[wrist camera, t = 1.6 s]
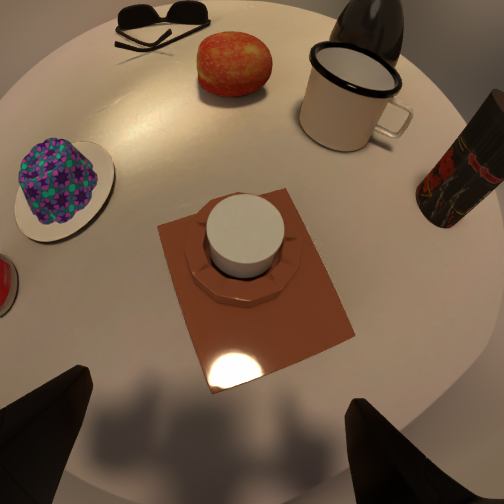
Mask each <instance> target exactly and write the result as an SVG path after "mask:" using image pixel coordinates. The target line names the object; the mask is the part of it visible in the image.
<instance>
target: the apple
mask: <svg viewBox="0 0 504 504" xmlns="http://www.w3.org/2000/svg"><path fill="white" fill-rule="evenodd" d="M272 64H273V63H272V57H271V54H270V51H269V49H268V48H267V46H266V45H265V44H264V43H263V42H262V41H261V40H259V39H258V38H256V37H254V36H252V35H249V34H246V33H242V32H222V33H217V34H214V35H211V36H209V37H207V38H206V39H204V40H203V41H202V42H201V44H200V45H199V48H198V53H197V71H198V82H199V84H200V85H201V86H202V87H203V88H204V89H205V90H207V91H208V92H210V93H213V94H215V95H220V96H228V97H235V96H241V95H246V94H249V93H252V92H254V91H256V90H258V89H259V88H261V87H262V86H263V85H264V84H265V83H266V82H267V81H268V79H269V77H270V75H271V72H272Z"/></svg>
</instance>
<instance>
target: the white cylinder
mask: <svg viewBox="0 0 504 504" xmlns="http://www.w3.org/2000/svg"><path fill="white" fill-rule="evenodd" d="M206 230H207V239H208V247H209V253H210V256H211V258H212V260H213V262H214V264H215V265H216V266H217V267H218V268H219V269H220V270H221V271H223V272H224V273H226V274H228V275H230V276H233V277H237V278H251V277H255V276H258V275H260V274H262V273H264V272H265V271H266V270H268V269H269V268H270V267H271V265H272V264H273V263H274V261H275V259H276V257H277V254H278V251H279V249H280V246H281V244H282V241H283V238H284V231H285V229H284V222H283V219H282V216H281V215H280V213H279V211H278V210H277V209H276V207H275V206H274V205H272V204H271V203H270V202H269V201H267V200H265V199H263V198H261V197H259V196H255V195H250V194H239V195H234V196H230V197H228V198H226V199H224V200H222V201H221V202H219V203H218V204H217V205H216V206H215V207H214V208H213V210H212V211H211V213H210V215H209V217H208V220H207V226H206Z"/></svg>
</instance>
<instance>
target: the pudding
mask: <svg viewBox="0 0 504 504" xmlns="http://www.w3.org/2000/svg"><path fill="white" fill-rule="evenodd" d="M113 178H114V166H113V161H112V159H111V156H110V155H109V153H108V152H107V151H106V150H105V149H104V148H103V147H101V146H99V145H97V144H95V143H91V142H82V141H81V142H73V143H70V142H69V141H67V140H64V139H57V138H50V139H47V140H45V141H44V142H43V143H40V144H37V145H36V146H34V147H33V148H32V149H31V151H30V153H29V154H28V155H27V156H25V158H24V159H23V161H22V163H21V170H20V172H19V183H20V187H19V190H18V193H17V196H16V200H15V218H16V222H17V225H18V227H19V228H20V230H21V231H22V232H23V233H24V234H25V235H26V236H27V237H29V238H31V239H33V240H36V241H45V242H49V241H54V240H58V239H61V238H64V237H67V236H69V235H70V234H72V233H74V232H76V231H77V230H79V229H80V228H81V227H83V226H84V225H85V224H86V223H87V222H89V221H90V220H91V219H92V218H93V217H94V216H95V214H96V213H97V212H98V211H99V209H100V208H101V207H102V205H103V204H104V202H105V200H106V199H107V197H108V194H109V192H110V190H111V187H112V183H113Z"/></svg>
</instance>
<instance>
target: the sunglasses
mask: <svg viewBox="0 0 504 504" xmlns="http://www.w3.org/2000/svg"><path fill="white" fill-rule="evenodd" d="M161 22H170V23H179V24H193V25H198V24H203V25H201V26H199V27H197V28H195V29H192V30H190V31H188V32H186V33H184V34H182V35H180V36H177V37H175V38H173V39H171V40H169V41H167V42H164V43H162V44H159V43H161V42H162V41H163V40H165V39H166V38H167V37H169V36H170V35H171V34H172V31H171V29H169V30H168V31H167V32H165V33H164V34H163V35H162V36H161V37H160V38H159V39H158V40H157V41H156V42H154V43H145V42H142V41H139V40H137V39H135V38H132V37H131V36H129V35H127V34H125V33H123V32H121V31H120V30H125V29H133V28H139V27H144V26H148V25H152V24H156V23H161ZM210 23H211V20H209V19H208V11H207V8H206V6H205V5H204V4H203V3H201V2H198V1H189V0H187V1H179V2H176V3H174V4H173V5H172V6H171V8H170V9H169V11H168V13H167V16H166V17H165V18H161V17H159V15H158V14H157V12H156V11H155V9H154V8H153V7H152V6H150V5H146V4H139V5H133V6H128V7H126V8H123V9H122V10H121V11H120V12H119V14H118V25H119V26H117V27H116V29H115V30H116V32H117V33H119V34H120V35H122V36H124V37H125V38H127V39H129V40H131V41H133V42H136V43H138V44H141V45H143V46H147V47H151V48H143V49H142V48H137V47H134V46H130V45H127V44H124V43H120V42H117V41H115V47H118V48H123V49H127V50H131V51H136V52H149V51H153V50H156V49H158V48H161V47H163V46H166V45H168V44H170V43H172V42H175V41H177V40H179V39H181V38H183V37H185V36H188V35H190V34H192V33H194V32H196V31H198V30H201V29H203V28H205V27H207V26H209V25H210ZM158 44H159V45H158ZM156 45H157V46H156Z"/></svg>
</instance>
